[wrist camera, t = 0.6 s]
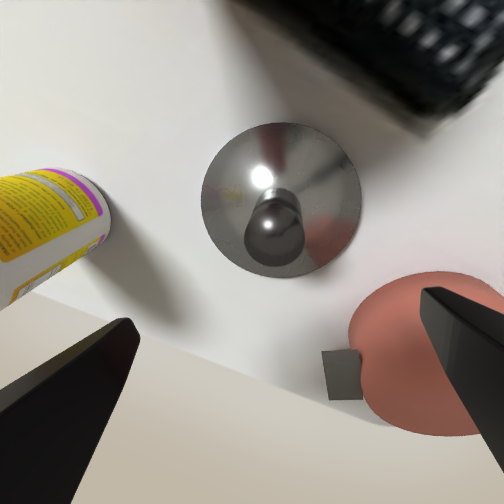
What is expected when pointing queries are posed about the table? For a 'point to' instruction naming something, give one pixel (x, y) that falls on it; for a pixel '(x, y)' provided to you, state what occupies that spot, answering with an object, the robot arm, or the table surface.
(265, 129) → the lid
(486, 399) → the robot arm
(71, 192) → the supplement bottle
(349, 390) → the pot
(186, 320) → the table surface
